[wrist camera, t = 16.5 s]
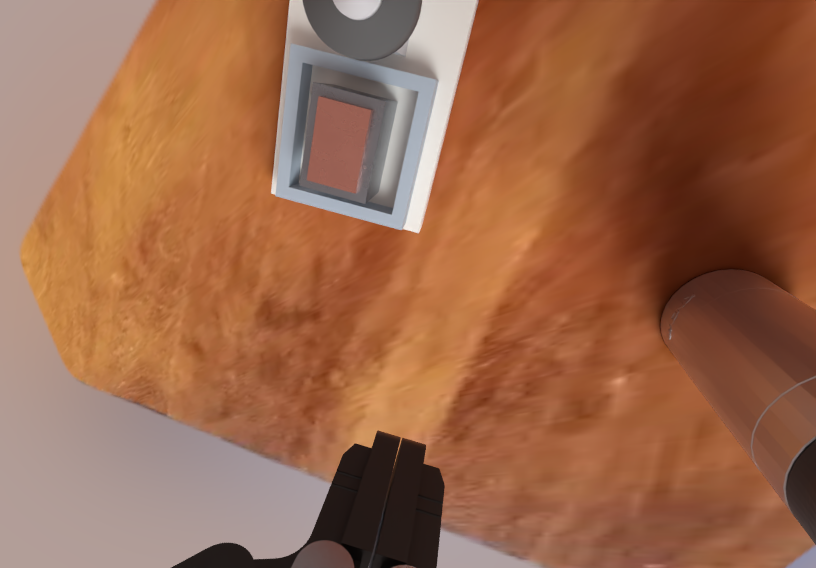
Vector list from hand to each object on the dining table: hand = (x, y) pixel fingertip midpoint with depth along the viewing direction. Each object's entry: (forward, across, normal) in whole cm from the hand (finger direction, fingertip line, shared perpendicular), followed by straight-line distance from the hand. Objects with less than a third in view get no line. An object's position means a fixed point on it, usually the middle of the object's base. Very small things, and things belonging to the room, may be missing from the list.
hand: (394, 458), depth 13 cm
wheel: (+25, +9, -14) cm, 30 cm away
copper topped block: (+25, +9, -5) cm, 27 cm away
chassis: (+27, +9, -8) cm, 30 cm away
